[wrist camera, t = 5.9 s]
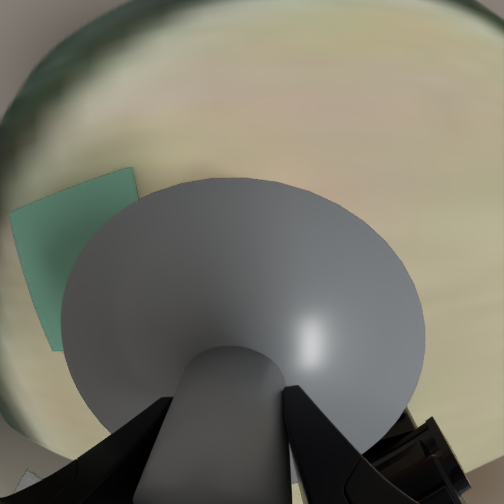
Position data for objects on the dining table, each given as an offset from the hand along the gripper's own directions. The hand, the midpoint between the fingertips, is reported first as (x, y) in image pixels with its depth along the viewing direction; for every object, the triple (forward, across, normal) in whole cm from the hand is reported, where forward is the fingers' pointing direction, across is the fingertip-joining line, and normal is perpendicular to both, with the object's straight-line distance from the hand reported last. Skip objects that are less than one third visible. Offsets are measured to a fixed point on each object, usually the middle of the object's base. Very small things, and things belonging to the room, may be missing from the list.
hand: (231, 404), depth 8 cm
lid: (+2, 0, 0) cm, 2 cm away
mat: (+12, +12, -2) cm, 17 cm away
